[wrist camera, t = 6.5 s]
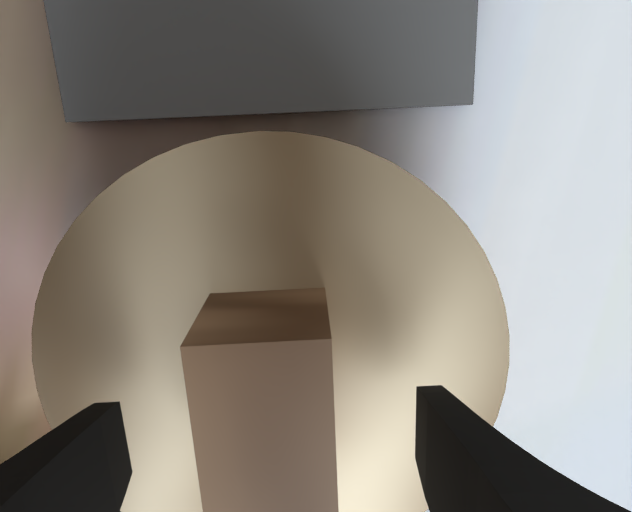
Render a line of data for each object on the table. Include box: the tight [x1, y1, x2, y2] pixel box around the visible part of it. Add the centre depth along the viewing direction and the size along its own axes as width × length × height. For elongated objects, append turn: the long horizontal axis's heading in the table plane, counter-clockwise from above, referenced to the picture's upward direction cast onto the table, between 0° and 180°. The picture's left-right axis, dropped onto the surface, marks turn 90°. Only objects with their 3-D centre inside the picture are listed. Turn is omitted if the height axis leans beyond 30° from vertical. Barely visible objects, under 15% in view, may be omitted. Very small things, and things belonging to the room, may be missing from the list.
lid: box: [32, 131, 509, 512], centre depth 12 cm, size 13×13×4 cm
